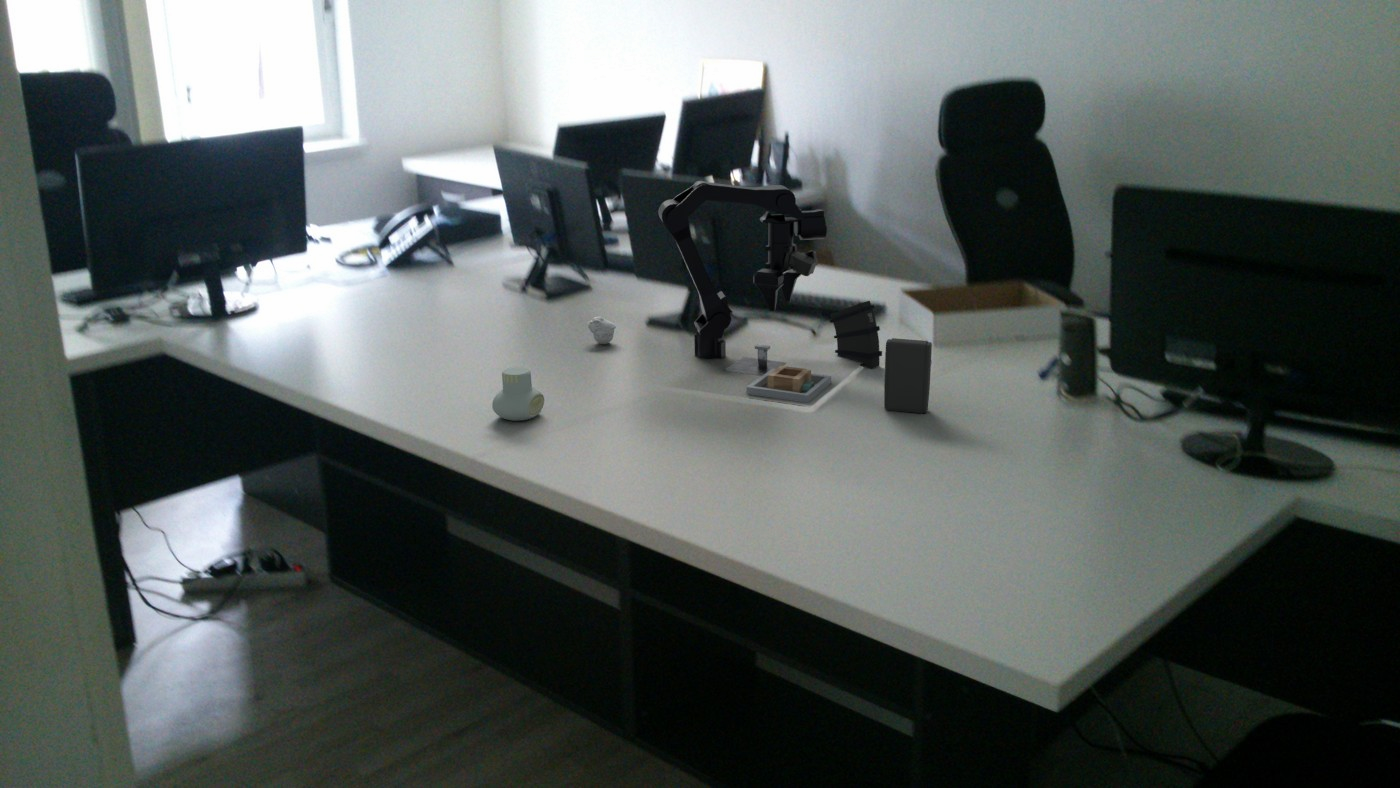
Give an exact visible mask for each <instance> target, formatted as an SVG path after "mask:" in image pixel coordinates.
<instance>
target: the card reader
mask: <svg viewBox="0 0 1400 788" xmlns="http://www.w3.org/2000/svg"><path fill="white" fill-rule="evenodd" d="M932 346H933V344H932V342H931V341H928V340H918V339H908V338H907V339H906V338H895V337H894V338H893V337H892V338H888V339H887V340H886V341H885V359H884V383H883V385H884V390H883V391H884V392H883V393H884V395H883V397H884V401H883V403H884V407H883V408H884V409H885V410H888V411H892V412H893V411H894V412H904V413H914V414H923V413H924V414H925V413H927V412H928V410H929V398H930V390H931V389H930V388H931V387H930V385H931V369H932V368H931V366H932V363H933V362H932V349H933V347H932Z"/></svg>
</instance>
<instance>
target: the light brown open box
mask: <svg viewBox="0 0 1400 788" xmlns="http://www.w3.org/2000/svg"><path fill="white" fill-rule="evenodd" d="M811 374H812V369H809V368H804V367H803V368H802V367H796V366H795V367H793V366H788V365H787V366H786V365H783V366H779V367H778V368H777V369H775V370H774V371H773V372H771V373H770V374H768V382H767V388H770V389H777V390H784V391H791V392H798V393H806V392H808V391H809V390H810V389H811V388H812V387H814V386H815V382H811Z"/></svg>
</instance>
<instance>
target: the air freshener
mask: <svg viewBox="0 0 1400 788" xmlns="http://www.w3.org/2000/svg"><path fill="white" fill-rule="evenodd" d="M501 376H502V377H501V379H502V389H501V390H499V391H498V392H497V393H496V395H495V396H494V398H493V400H492V411H493V412H494V413H495V415H497V416H498V417H500V418H501V419H505V420H507V421H513V422H514V421H515V422H516V421H517V422H519V421H528V419H529V420H532V419H533V418H535V417H536V416H538V415H539V414H540V413H541V411H542V410H543V408H544V405H545V397H544V394H543V393H542V392H541V391H540V390H538V389H537V388H536V387H532V386H533V385H532V372H531V369H530V368H528V367H523V366H514V367H509V368H505V369H504V370H503V371H501ZM531 418H532V419H531Z"/></svg>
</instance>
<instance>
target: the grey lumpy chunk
mask: <svg viewBox="0 0 1400 788" xmlns="http://www.w3.org/2000/svg"><path fill="white" fill-rule="evenodd" d="M587 326H588V327H587V328H588V329H589V331H590V332H591V333H592V335H593V339H594V340H595V342H596V343H598V344H599V345H607V344H609V343H610V342H611V341H613V338H614V335H615V334H614V333H615V329H616V328H617V326H616V324H615V323H614V322H612V321H610V320H608V319H605V318H604V317H603V316H594V317H593V318H592V319H591V320H588V322H587Z"/></svg>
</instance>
